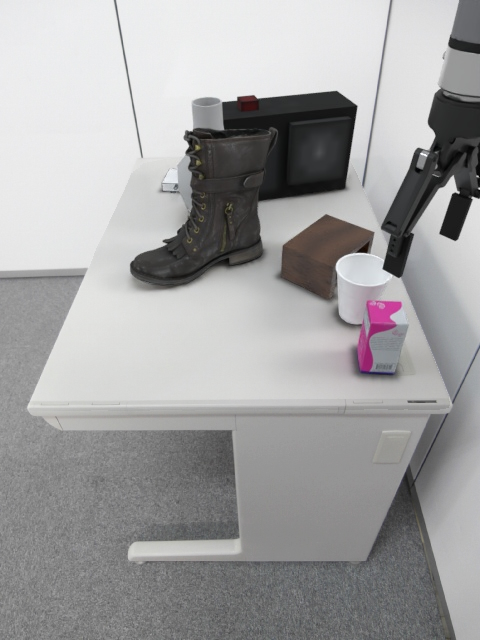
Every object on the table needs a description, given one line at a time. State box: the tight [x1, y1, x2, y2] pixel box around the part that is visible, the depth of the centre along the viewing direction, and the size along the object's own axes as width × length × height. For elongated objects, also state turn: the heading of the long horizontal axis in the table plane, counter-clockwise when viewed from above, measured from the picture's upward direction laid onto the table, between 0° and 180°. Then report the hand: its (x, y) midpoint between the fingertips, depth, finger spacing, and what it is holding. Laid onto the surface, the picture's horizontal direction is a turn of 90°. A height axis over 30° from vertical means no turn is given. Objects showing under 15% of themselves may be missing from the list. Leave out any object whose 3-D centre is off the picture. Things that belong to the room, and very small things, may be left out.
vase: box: [176, 96, 224, 212], centre depth 103 cm, size 17×16×28 cm
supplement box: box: [356, 300, 410, 375], centre depth 72 cm, size 6×6×12 cm
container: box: [161, 168, 180, 194], centre depth 127 cm, size 20×11×3 cm, turn 173°
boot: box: [129, 127, 278, 287], centre depth 89 cm, size 12×33×29 cm, turn 117°
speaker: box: [222, 90, 359, 202], centre depth 116 cm, size 15×35×24 cm, turn 104°
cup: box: [336, 253, 394, 325], centre depth 81 cm, size 10×10×11 cm
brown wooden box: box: [280, 213, 376, 300], centre depth 93 cm, size 12×16×8 cm
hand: (421, 254), depth 63 cm, fingers open, 13 cm apart
